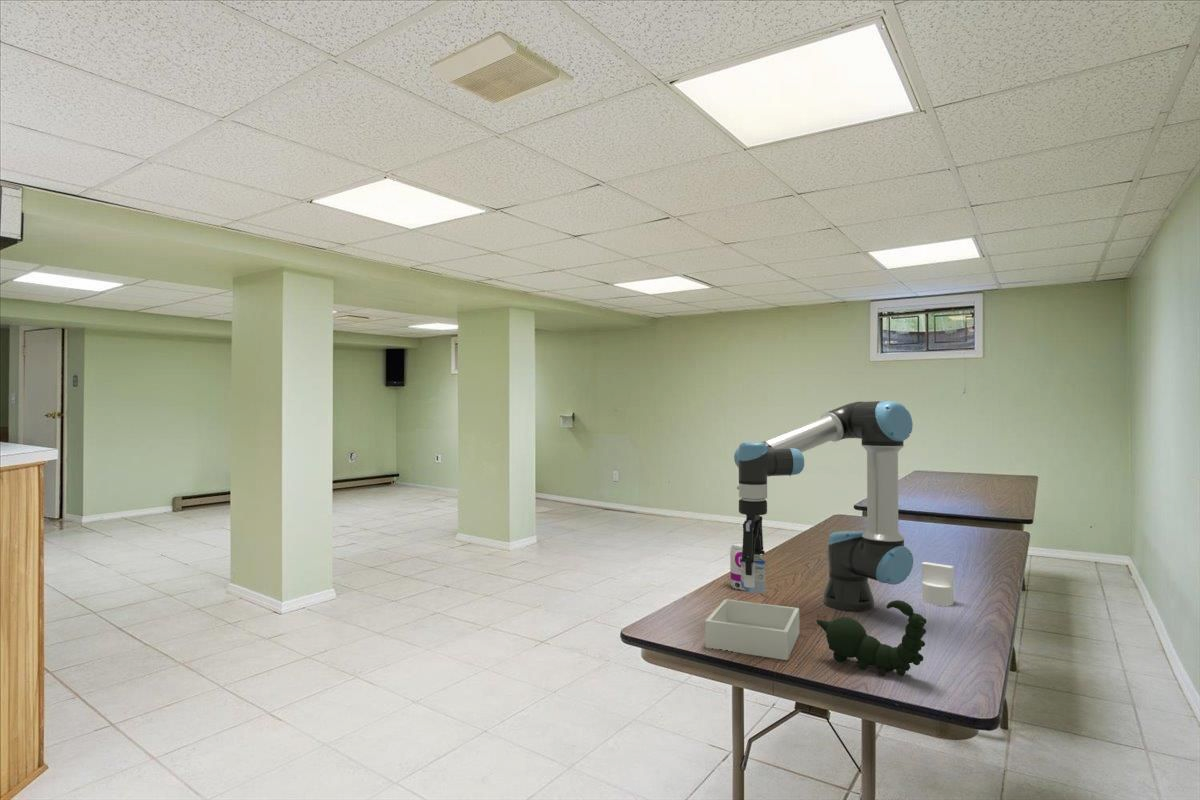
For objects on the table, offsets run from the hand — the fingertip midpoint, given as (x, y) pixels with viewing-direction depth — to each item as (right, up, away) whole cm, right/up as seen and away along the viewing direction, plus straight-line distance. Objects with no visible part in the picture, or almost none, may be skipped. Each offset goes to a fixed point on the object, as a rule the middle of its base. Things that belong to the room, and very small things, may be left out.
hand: (753, 582), depth 175 cm
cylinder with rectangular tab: (+67, -16, +33) cm, 77 cm away
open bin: (0, -16, 0) cm, 16 cm away
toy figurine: (+23, -16, -19) cm, 34 cm away
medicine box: (0, -2, 0) cm, 2 cm away
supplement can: (+8, -16, +51) cm, 54 cm away
